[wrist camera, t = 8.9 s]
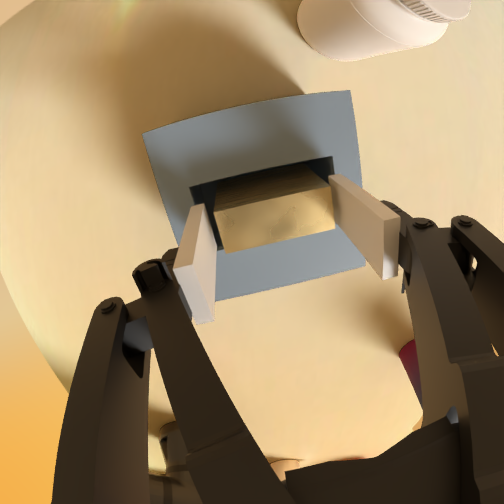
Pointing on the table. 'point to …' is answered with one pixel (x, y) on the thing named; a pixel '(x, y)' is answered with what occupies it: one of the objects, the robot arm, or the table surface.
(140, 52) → the table surface
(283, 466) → the mug
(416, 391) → the cup
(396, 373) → the table surface
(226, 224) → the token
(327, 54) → the pill bottle
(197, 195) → the grey hollow box
